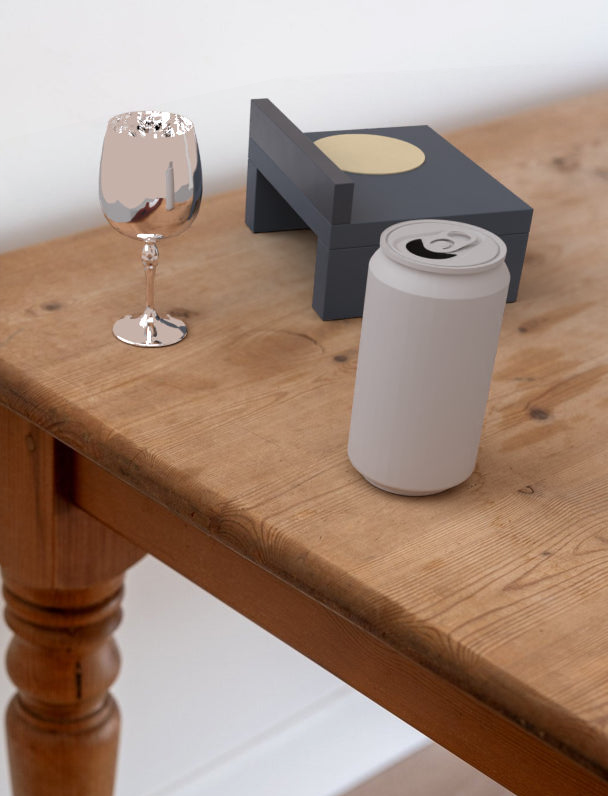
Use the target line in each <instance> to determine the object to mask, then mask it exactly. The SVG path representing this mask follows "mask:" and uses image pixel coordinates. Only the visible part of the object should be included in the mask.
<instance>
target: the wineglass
mask: <svg viewBox="0 0 608 796" xmlns="http://www.w3.org/2000/svg"><path fill="white" fill-rule="evenodd" d="M199 146H200V145H199V140H198V136H197V133H196V130H195V125H194V122H193V121H192V120H191V119H190V118H189V117H186V116H183V115H180V114H177V113H173V112H167V111H161V110H136V111H129V112H123V113H120V114H118V115H115V116H112V117H111V118H110V119H109V120H108V121H107V124H106V128H105V133H104V137H103V142H102V146H101V152H100V157H99V158H100V159H99V165H98V175H97V176H98V179H97V182H98V183H97V186H98V189H97V190H98V198H99V203H100V208H101V211H102V214H103V217H105V219H106V221H107V222H108V224H109V225H110V226H111V227H112V228H113V230H115V231H117V232H118V233H119V234H121V235H122V236H124V237H127V238H129V239H132V240H135V241H139V242H144V243H145V244H144V245H143V247H142V250H141V257H140V258H141V262H142V267H143V270H144V275H145V284H146V285H145V286H146V289H145V291H146V292H145V307H144V310H143V312H141V311H140V312H135V313H131V314H127V315H125V316H122V317H120V318H119V319H117V320H116V321H114V323H113V324H112V328H111V331H112V334H113V335H114V337H115V338H117V339H118V340H119V341H121V342H122V343H125V344H128V345H131V346H136V347H143V348H158V347H166V346H171V345H173V344H176V343H179V342H180V341H182V340H184V339H185V337H186V336H187V334H188V326H187V325H186V323H185V322H184V321H183V320H182V319H180V318H178V317H177V316H174V315H171V314H168V313H163V312H157V310H156V306H155V278H156V273H157V267H158V265H159V260H160V253H159V249H158V246H157V245H156V243H158V242H164V241H169V240H171V239H173V238H175V237H178V236H180V235H182V234H183V233H185V232H186V231H188V229H190V227H191V226H192V225H193V224H194V222H195V221H196V219H197V217H198V215H199V213H200V209H201V205H202V201H203V200H202V199H203V192H204V191H203V190H204V175H203V174H204V173H203V166H202V165H203V164H202V159H201V153H200V147H199Z"/></svg>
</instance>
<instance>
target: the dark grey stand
mask: <svg viewBox="0 0 608 796" xmlns="http://www.w3.org/2000/svg"><path fill="white" fill-rule="evenodd" d="M249 105H250V107H249V124H248V125H249V129H248V150H247V168H246V169H247V171H246V188H245V189H246V190H245V208H244V209H245V211H244V223H245V225H246V226H247V227H248V228H249V230H250V231H251V232H252V233H253V234H255V233H267V232H277V231H278V232H280V231H291V230H305V229H310V230H311V231H312V232H313V233H314V234H315V236H317V243H316V255H315V267H314V278H313V291H312V300H311V301H312V302H311V308H312V309H313V310H314V312H315V313H316V314H317V315H318V317H319V318H320V319H321V320H322V321H332V320H342V319H352V318H363V311H364V302H365V294H366V285H367V276H368V268H369V261H370V259H371V257H372V256H373V255H374V253H375V252H376V251H377V250H378V249H379V248H380V237H381V234H382V233H383V232H384V230H386V229H387V228H389V227H390V226H392V225H395V224H398V223H401V222H406V221H412V220H425V219H434V220H448V221H455V222H461V223H466V224H470V225H473V226H477V227H480V228H482V229H485V230H487V231H489V232H491V233H493V234H495V235H496V236H498V237H499V238H500V239H501V240H502V241H503V242H504V243H505V245H506V248H507V252H506V257H505V260H504V262H505V264H506V266H507V268H508V270H509V273H510V283H509V288H508V293H507V299H506V303H514V302H517V299H518V294H519V289H520V283H521V280H522V279H521V278H522V273H523V268H524V263H525V258H526V253H527V247H528V241H529V236H530V231H531V226H532V220H533V216H534V212H535V211H534V208H533V207H532V206H530V205H529V204H528V203H527V202H526V201H524V200H523V199H522V198H521V197H519V196H518V195H517V194H516V193H514V192H513V191H512V190H510V189H509V188H508V187H507V186H505V185H504V184H503V183H501V182H500V181H499V180H498V179H497V178H495V177H494V176H493V175H491V173H489V172H487V170H485V169H484V168H482V167H481V166H480V165H479V164H478V163H476V162H475V161H473V160H472V159H471V158H470V157H468V156H467V155H466V154H465V153H464V152H462V151H461V150H460V149H459V148H457V147H456V146H454V145H453V144H452V143H451V142H450V141H448V140H447V139H445V138H444V137H443V136H442V135H440V133H439V132H436V131H435V130H434V129H433V128H431V127H430V126H429V125H428V124H421V125H406V126H405V125H404V126H388V127H371V128H356V129H355V128H354V129H340V130H339V129H337V130H323V131H306V132H303V131H302V130H301V129H300V128H299V127H298V126H297V125H296V124H295V123H294V122H293V121H292V120H291V119H290V118H288V116H286V114H285V113H284V112H283V111H281V110H280V109H279V108H278V106H276V105H275V104H274V103H273V102H272V101H271V100H270V98H267V97H266V98H265V97H263V98H262V97H261V98H251V99H250V104H249Z"/></svg>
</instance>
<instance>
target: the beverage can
mask: <svg viewBox="0 0 608 796" xmlns="http://www.w3.org/2000/svg"><path fill="white" fill-rule="evenodd" d="M506 252H507V248H506V245H505V243H504V242H503V241H502V240H501V239H500V238H499V237H498V236H496V235H495V234H493V233H491V232H489V231H487V230H485V229H482V228H480V227H477V226H473V225H470V224H466V223H461V222H455V221H448V220H434V219H425V220H412V221H406V222H401V223H398V224H395V225H392V226H390V227H389V228H387V229H386V230H384V232H383V233H382V234H381V237H380V248H379V249H378V250H377V251H376V252H375V253H374V255H373V256H372V257H371V259H370V261H369V268H368V276H367V285H366V294H365V302H364V311H363V317H362V320H361V328H360V337H359V347H358V354H357V363H356V372H355V381H354V389H353V397H352V407H351V416H350V424H349V432H348V441H347V456H348V457H347V458H348V459H349V461H350V463H351V465H352V466H353V468H354V469H355V470H356V471H357V472H358V473H359V474H361V475H362V476H363V478H364V479H365V480H366V481H367V482H368V483H370V484H371V485H373V486H374V487H375V488H378V489H380V490H383V491H385V492H389V493H391V494H395V495H400V496H407V497H408V496H409V497H410V496H411V497H421V496H431V495H435V494H439V493H442V492H444V491H445V492H446V490H449V489H452V488H454V487H457V486H458V485H460V484H462V483H463V482H465V481H466V480H468V479H469V478H470V476H471V475H472V474H473V472H474V470H475V468H476V464H477V459H478V454H479V453H478V452H479V448H480V442H481V436H482V432H483V427H484V422H485V417H486V416H485V415H486V411H487V406H488V400H489V394H490V389H491V385H492V380H493V379H492V378H493V373H494V369H495V368H494V367H495V363H496V362H495V361H496V357H497V352H498V346H499V341H500V335H501V330H502V325H503V321H504V320H503V319H504V314H505V310H506V309H505V308H506V303H507V302H506V299H507V293H508V288H509V283H510V273H509V270H508V268H507V266H506V264H505V262H504V260H505V257H506Z"/></svg>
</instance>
